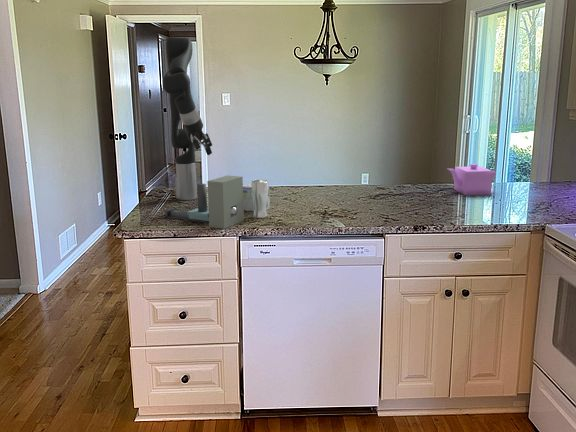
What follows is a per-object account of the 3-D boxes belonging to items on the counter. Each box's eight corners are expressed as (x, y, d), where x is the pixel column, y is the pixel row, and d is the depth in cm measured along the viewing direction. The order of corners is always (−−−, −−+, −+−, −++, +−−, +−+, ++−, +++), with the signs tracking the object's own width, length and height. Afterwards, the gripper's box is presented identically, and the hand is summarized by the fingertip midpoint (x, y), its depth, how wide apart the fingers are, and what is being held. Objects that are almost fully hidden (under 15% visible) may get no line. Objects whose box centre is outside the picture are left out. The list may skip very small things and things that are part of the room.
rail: (165, 217, 232) (164, 210, 231) (173, 214, 236) (172, 207, 235) (214, 223, 220) (214, 216, 220) (222, 221, 225) (221, 213, 224)
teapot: (440, 189, 284) (441, 162, 280) (487, 188, 285) (489, 161, 282) (450, 195, 269) (452, 167, 266) (500, 194, 271) (503, 166, 267)
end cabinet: (208, 226, 217) (206, 180, 212) (228, 218, 229) (226, 175, 224) (224, 228, 213) (222, 182, 209) (243, 220, 225) (242, 176, 221)
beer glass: (251, 214, 235) (250, 179, 231) (268, 214, 235) (267, 179, 232) (252, 218, 228) (251, 182, 225) (269, 218, 229) (268, 182, 225)
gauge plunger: (212, 214, 221) (211, 204, 220) (217, 212, 224) (217, 202, 223) (232, 217, 216) (232, 207, 215) (238, 215, 220) (238, 205, 219)
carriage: (187, 218, 225) (186, 184, 222) (198, 215, 231) (196, 181, 228) (210, 221, 220) (208, 187, 217) (220, 217, 226) (218, 184, 223)
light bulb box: (270, 208, 245) (269, 184, 243) (264, 212, 239) (264, 187, 237) (247, 207, 249) (247, 183, 246) (241, 210, 243) (241, 186, 240)
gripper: (208, 118, 223) (220, 151, 233) (188, 110, 232) (201, 142, 242) (193, 128, 220) (207, 160, 230) (174, 119, 229) (187, 151, 239)
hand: (203, 151), depth 236 cm, fingers open, 8 cm apart
